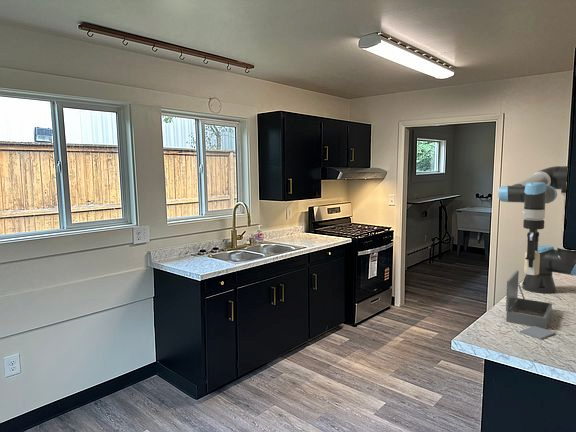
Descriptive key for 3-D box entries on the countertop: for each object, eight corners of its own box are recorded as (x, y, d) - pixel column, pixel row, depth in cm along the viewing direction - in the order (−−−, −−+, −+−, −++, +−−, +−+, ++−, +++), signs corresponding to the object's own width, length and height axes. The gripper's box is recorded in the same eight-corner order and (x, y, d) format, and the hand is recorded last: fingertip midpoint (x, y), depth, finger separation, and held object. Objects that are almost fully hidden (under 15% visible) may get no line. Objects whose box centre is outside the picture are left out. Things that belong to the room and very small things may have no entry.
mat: (534, 327, 163) (534, 325, 163) (555, 334, 156) (555, 332, 156) (519, 332, 158) (519, 330, 158) (540, 339, 151) (540, 338, 151)
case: (515, 306, 188) (516, 269, 186) (551, 312, 178) (553, 274, 177) (504, 321, 170) (506, 281, 168) (545, 329, 161) (547, 286, 159)
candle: (521, 273, 173) (522, 250, 172) (529, 271, 175) (530, 248, 174) (533, 275, 168) (534, 252, 167) (542, 274, 170) (543, 251, 169)
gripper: (527, 216, 179) (524, 267, 181) (520, 221, 164) (517, 276, 167) (547, 217, 174) (544, 269, 176) (541, 222, 159) (539, 279, 162)
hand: (531, 272), depth 172 cm, fingers closed on candle, 5 cm apart
